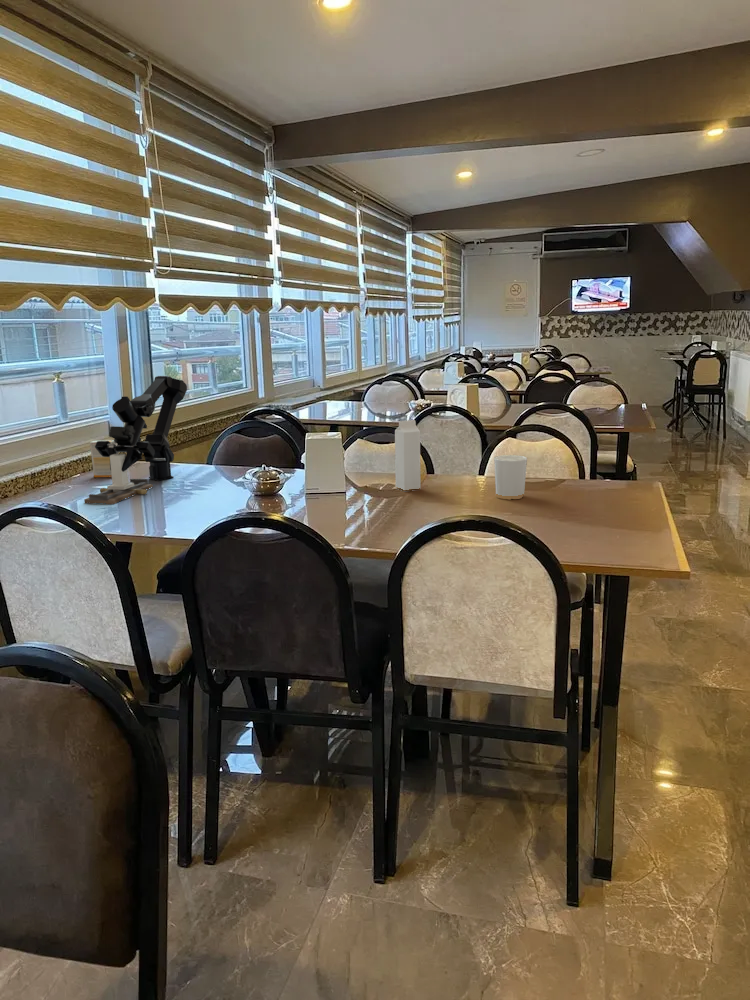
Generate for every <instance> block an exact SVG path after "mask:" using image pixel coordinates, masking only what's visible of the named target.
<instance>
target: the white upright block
mask: <svg viewBox="0 0 750 1000" xmlns="http://www.w3.org/2000/svg"><path fill="white" fill-rule="evenodd" d="M126 455H127V453H118V454H113V455H110V464H111V474H112V477H111V481H112V484H109V485H107V489H113V492H119V491H121V490H125V489H128V488H130V487H133V486H134V483H129V482H130V480H129V474H128V473H129V472H128V469H127V470H125V471H124V472H123V471H122V466H123V463H124V460H125V458H126Z"/></svg>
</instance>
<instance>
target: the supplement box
mask: <svg viewBox="0 0 750 1000" xmlns="http://www.w3.org/2000/svg"><path fill="white" fill-rule="evenodd" d="M97 441H109V442H110V443H111V444H115V445H117V443H115V442H114V439H96V440H92V441H89V447H90V455H91V463H92V471H93V477H94V478H112V474H111V470H110V457H103V456H102V455H101V454H100V453H99V452H98V450H97V449H96V448H95V445H96V443H97Z"/></svg>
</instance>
